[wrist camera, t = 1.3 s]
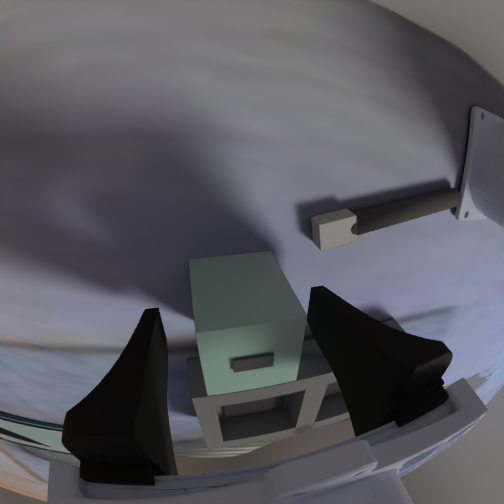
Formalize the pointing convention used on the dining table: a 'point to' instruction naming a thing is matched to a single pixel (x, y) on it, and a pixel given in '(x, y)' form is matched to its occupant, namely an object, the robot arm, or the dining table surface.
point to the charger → (245, 322)
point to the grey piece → (271, 403)
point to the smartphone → (32, 433)
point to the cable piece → (377, 217)
